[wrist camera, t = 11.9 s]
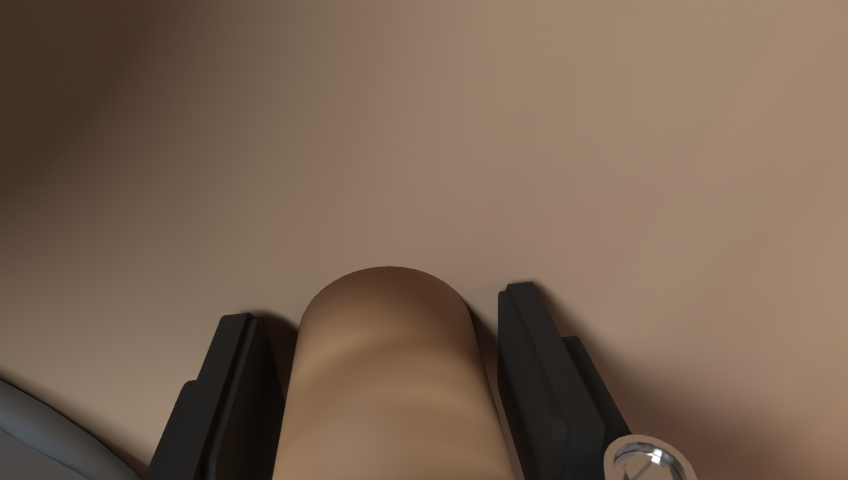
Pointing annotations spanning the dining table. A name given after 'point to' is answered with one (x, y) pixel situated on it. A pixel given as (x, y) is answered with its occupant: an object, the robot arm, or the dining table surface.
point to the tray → (50, 444)
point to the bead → (389, 386)
